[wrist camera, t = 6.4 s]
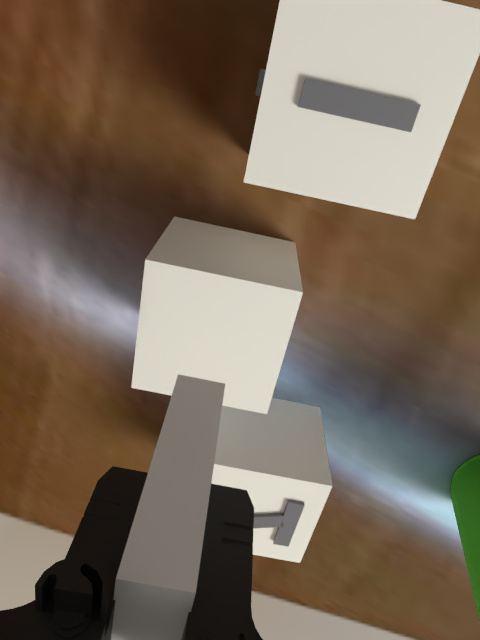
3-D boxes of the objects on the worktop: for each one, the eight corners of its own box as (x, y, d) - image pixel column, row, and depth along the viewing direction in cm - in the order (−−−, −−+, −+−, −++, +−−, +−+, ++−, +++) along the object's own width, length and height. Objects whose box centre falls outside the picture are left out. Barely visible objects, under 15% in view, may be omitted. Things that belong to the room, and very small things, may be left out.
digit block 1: (276, -5, 18) (279, -41, 12) (429, 31, 18) (498, 12, 13) (245, 154, 21) (237, 182, 15) (378, 183, 21) (416, 220, 15)
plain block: (174, 215, 22) (145, 259, 17) (294, 241, 22) (303, 292, 17) (160, 322, 25) (131, 387, 20) (267, 343, 25) (267, 414, 20)
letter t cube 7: (217, 386, 27) (204, 465, 21) (319, 406, 27) (332, 489, 22) (201, 459, 30) (186, 545, 24) (294, 476, 30) (300, 566, 24)
